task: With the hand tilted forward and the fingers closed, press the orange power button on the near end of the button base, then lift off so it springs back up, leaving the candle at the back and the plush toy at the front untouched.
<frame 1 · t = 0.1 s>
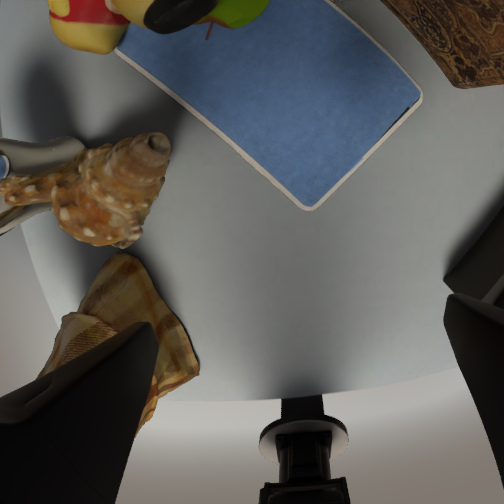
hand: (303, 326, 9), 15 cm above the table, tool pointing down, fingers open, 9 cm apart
book: (413, 0, 16), on the table
tablet: (266, 58, 19), on the table, touching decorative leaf, toy
seashell: (127, 182, 22), point 1 cm above the table, touching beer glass
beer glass: (67, 172, 22), on the table, touching seashell
plush toy: (128, 326, 28), on the table
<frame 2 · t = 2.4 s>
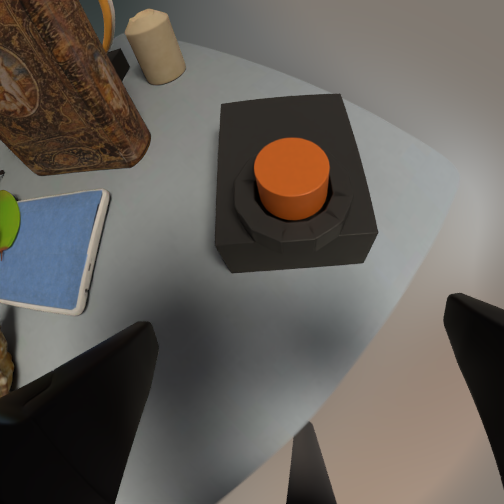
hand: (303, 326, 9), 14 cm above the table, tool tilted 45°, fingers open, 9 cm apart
lamp: (96, 91, 38), on the table
book: (91, 153, 32), on the table
tablet: (33, 252, 28), on the table, touching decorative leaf, toy
candle: (167, 74, 36), on the table
power button: (292, 178, 17), point 8 cm above the table, slide at 0.1 cm
button base: (291, 194, 26), on the table
seashell: (4, 369, 24), on the table, touching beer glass
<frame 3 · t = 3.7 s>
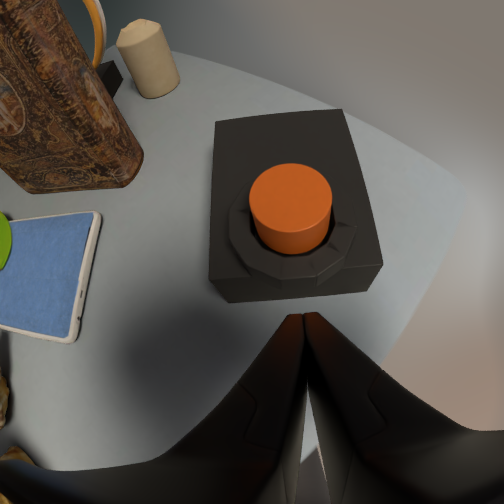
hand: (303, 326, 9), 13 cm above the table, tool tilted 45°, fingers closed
lamp: (88, 105, 37), on the table
book: (82, 171, 31), on the table
tablet: (26, 275, 27), on the table, touching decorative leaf, toy
candle: (160, 86, 36), on the table
power button: (291, 208, 16), point 8 cm above the table, slide at 0.1 cm
button base: (290, 217, 25), on the table
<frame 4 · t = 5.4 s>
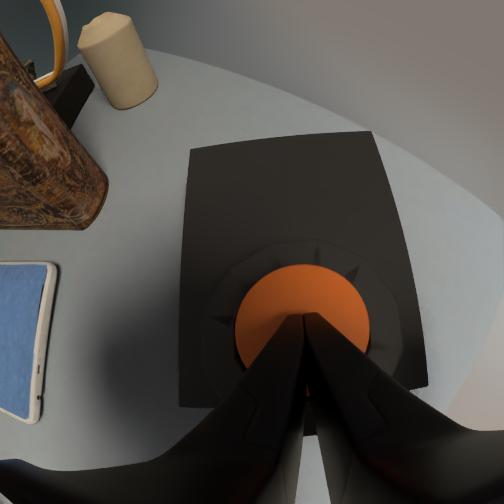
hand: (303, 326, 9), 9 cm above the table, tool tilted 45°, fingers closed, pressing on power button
lamp: (55, 117, 30), on the table
book: (42, 204, 25), on the table
candle: (135, 94, 29), on the table
power button: (302, 334, 10), point 7 cm above the table, slide at -0.7 cm, touching gripper
button base: (296, 284, 18), on the table
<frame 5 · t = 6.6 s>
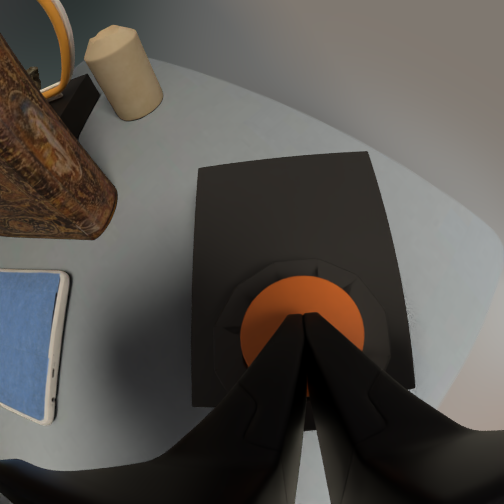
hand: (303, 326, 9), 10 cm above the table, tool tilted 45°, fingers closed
lamp: (62, 126, 32), on the table
book: (51, 213, 26), on the table
candle: (141, 105, 30), on the table
power button: (302, 340, 11), point 8 cm above the table, slide at 0.1 cm
button base: (296, 293, 20), on the table
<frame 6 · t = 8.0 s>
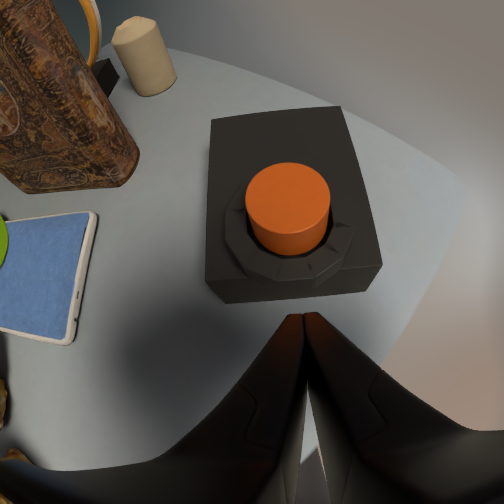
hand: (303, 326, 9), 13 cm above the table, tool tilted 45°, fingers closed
lamp: (84, 103, 37), on the table
book: (78, 171, 31), on the table
tablet: (22, 276, 26), on the table, touching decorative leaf, toy
candle: (157, 84, 35), on the table
power button: (288, 209, 16), point 8 cm above the table, slide at 0.1 cm
button base: (288, 216, 24), on the table
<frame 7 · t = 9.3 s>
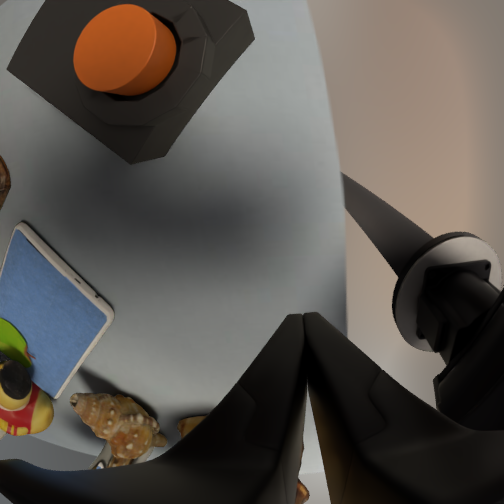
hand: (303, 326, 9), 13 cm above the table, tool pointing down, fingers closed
tablet: (40, 322, 27), on the table, touching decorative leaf, toy
power button: (125, 51, 11), point 8 cm above the table, slide at 0.1 cm
button base: (136, 51, 18), on the table
seashell: (128, 406, 30), on the table, touching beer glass
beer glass: (132, 436, 32), on the table, touching seashell
toy: (13, 405, 28), point 5 cm above the table, touching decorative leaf, tablet
plush toy: (250, 436, 30), on the table
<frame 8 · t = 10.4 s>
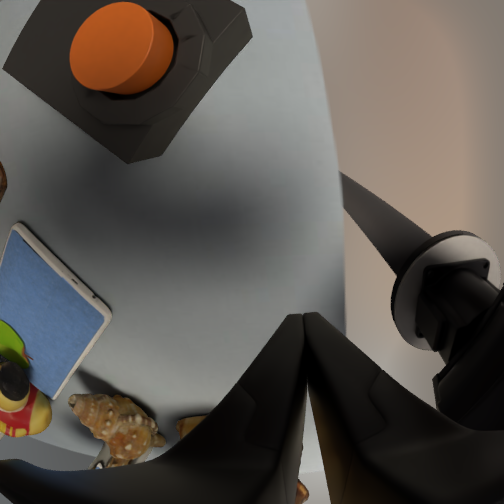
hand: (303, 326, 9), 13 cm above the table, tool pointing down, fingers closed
tablet: (37, 323, 27), on the table, touching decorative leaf, toy
power button: (121, 49, 11), point 8 cm above the table, slide at 0.1 cm
button base: (133, 49, 17), on the table
seashell: (126, 407, 30), on the table, touching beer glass
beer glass: (130, 437, 32), on the table, touching seashell
toy: (11, 406, 27), point 5 cm above the table, touching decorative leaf, tablet
plush toy: (249, 436, 30), on the table
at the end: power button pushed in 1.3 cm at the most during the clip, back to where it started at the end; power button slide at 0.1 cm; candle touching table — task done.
